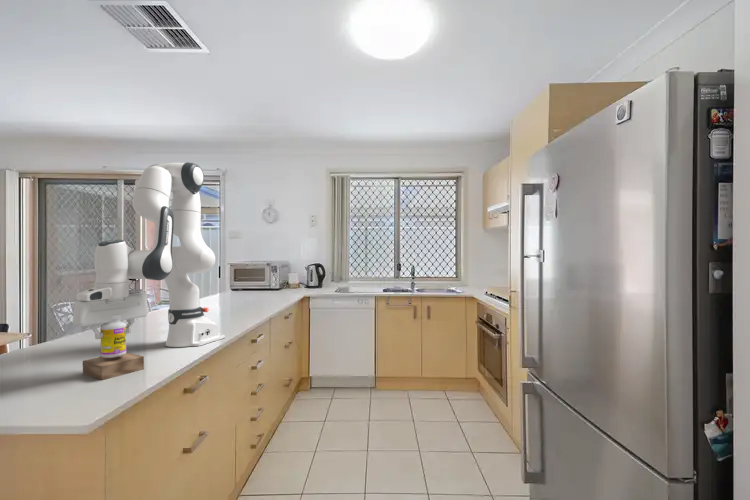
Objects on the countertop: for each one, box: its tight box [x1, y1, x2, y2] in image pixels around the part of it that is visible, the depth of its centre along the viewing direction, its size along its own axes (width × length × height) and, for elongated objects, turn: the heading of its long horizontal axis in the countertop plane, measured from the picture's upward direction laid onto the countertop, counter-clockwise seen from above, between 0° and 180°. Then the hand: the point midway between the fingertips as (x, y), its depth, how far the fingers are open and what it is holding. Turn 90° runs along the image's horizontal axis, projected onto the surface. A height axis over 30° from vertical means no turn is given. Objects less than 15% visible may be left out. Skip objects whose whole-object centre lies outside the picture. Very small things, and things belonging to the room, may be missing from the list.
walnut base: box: [82, 351, 145, 381], centre depth 123 cm, size 12×12×4 cm
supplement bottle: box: [99, 314, 127, 358], centre depth 123 cm, size 7×7×13 cm
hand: (113, 335), depth 123 cm, fingers closed on supplement bottle, 7 cm apart
